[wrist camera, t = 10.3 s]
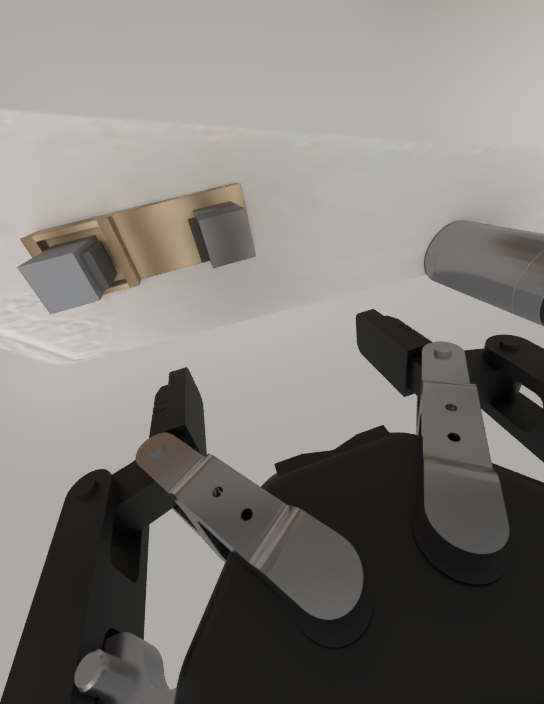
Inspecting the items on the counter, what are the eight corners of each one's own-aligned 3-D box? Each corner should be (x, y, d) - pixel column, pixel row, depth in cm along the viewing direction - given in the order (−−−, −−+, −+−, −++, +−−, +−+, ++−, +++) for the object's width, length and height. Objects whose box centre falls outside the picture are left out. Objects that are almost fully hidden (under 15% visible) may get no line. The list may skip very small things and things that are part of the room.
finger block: (103, 232, 29) (83, 250, 22) (122, 271, 31) (109, 297, 24) (53, 245, 28) (17, 267, 22) (76, 283, 30) (50, 314, 24)
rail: (236, 183, 32) (259, 186, 23) (249, 243, 36) (274, 265, 27) (37, 231, 29) (-20, 255, 21) (74, 291, 33) (39, 333, 24)
